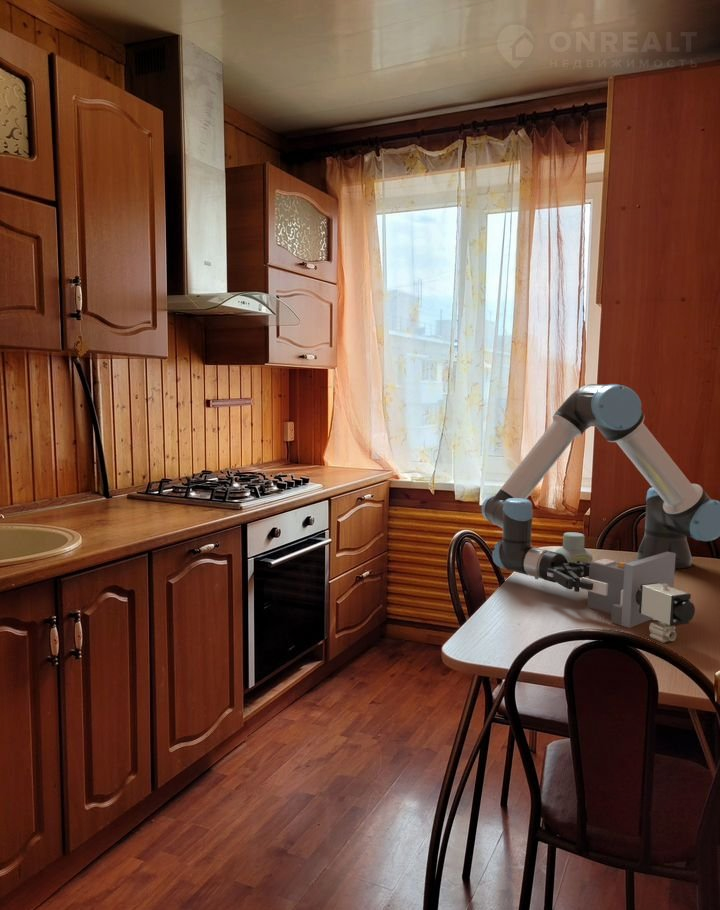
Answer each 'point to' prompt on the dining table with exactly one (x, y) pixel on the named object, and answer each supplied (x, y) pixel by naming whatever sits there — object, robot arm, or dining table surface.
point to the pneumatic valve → (664, 609)
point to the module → (608, 574)
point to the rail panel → (634, 576)
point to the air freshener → (574, 548)
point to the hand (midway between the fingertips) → (622, 584)
